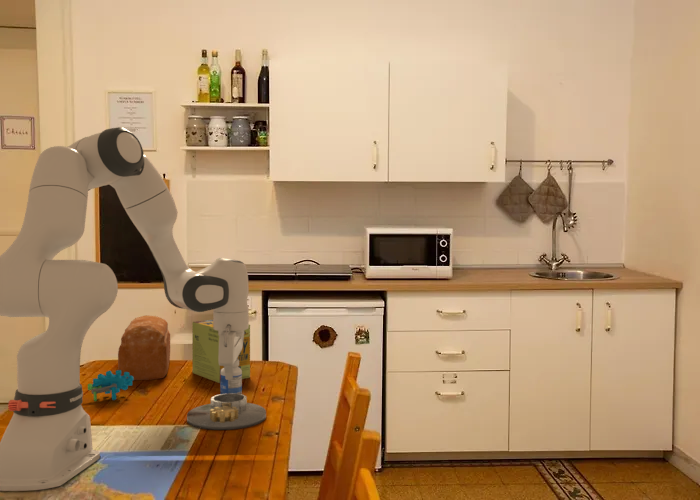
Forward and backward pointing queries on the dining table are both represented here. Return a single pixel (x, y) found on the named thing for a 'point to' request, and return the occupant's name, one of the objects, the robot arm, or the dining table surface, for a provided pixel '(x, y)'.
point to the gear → (110, 383)
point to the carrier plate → (242, 422)
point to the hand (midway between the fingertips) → (231, 376)
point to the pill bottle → (233, 384)
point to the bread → (145, 348)
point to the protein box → (214, 351)
